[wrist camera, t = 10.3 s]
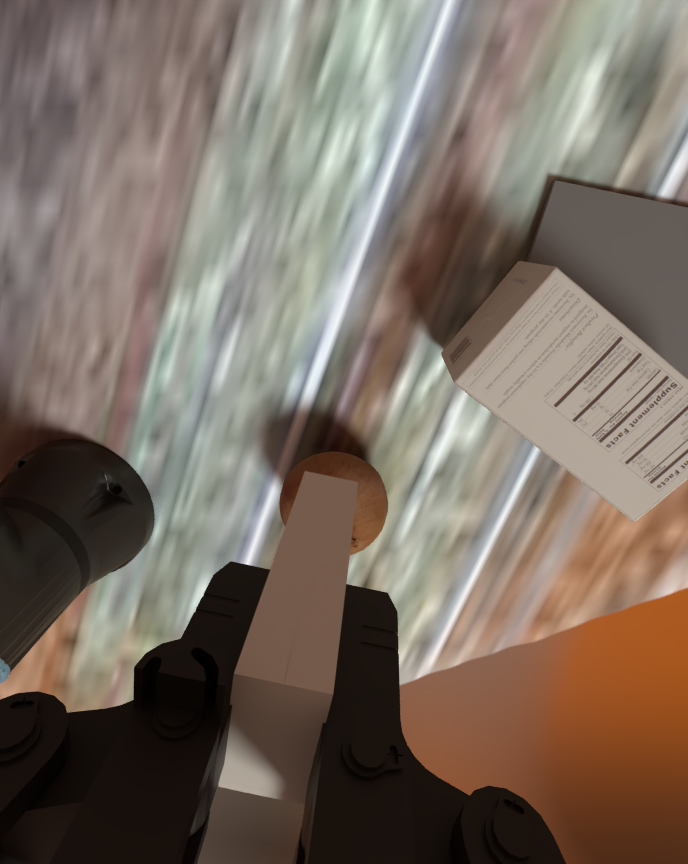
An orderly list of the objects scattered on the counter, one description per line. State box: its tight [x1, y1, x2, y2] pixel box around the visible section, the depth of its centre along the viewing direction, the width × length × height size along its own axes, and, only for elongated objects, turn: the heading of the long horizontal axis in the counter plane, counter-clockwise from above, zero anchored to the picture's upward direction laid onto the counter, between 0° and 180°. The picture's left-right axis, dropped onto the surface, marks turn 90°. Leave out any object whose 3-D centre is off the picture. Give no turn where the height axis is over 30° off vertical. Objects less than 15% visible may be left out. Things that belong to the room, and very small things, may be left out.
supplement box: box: [441, 261, 688, 521], centre depth 35 cm, size 10×9×17 cm
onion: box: [279, 452, 388, 555], centre depth 42 cm, size 10×9×10 cm
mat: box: [526, 180, 688, 379], centre depth 37 cm, size 16×20×1 cm
